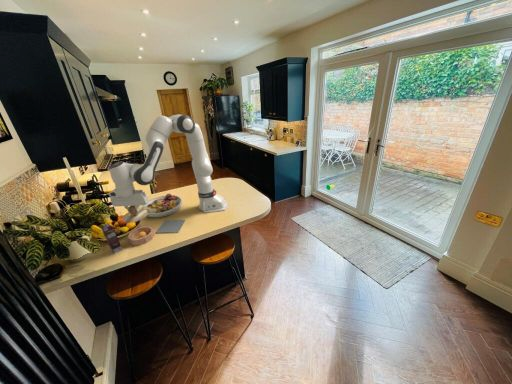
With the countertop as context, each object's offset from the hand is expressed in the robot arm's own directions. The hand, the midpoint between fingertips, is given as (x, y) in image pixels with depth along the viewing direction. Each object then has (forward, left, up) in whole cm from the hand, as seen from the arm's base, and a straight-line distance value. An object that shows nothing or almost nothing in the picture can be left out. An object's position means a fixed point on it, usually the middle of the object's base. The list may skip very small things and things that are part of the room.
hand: (133, 211), depth 128 cm
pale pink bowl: (0, 0, -3) cm, 3 cm away
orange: (0, 0, -17) cm, 17 cm away
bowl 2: (+2, -37, -20) cm, 42 cm away
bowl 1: (0, 0, -20) cm, 20 cm away
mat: (-14, -12, -20) cm, 27 cm away
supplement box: (+11, +10, -20) cm, 25 cm away
